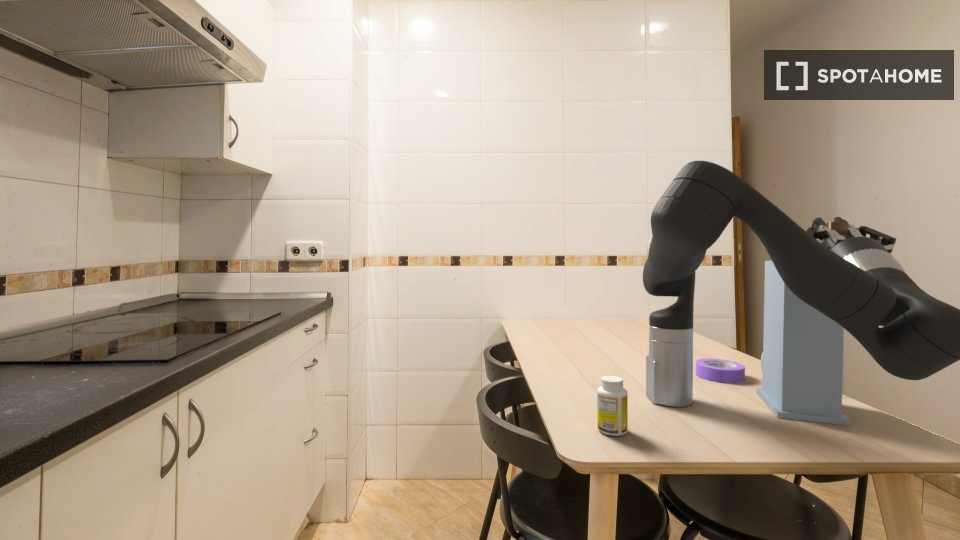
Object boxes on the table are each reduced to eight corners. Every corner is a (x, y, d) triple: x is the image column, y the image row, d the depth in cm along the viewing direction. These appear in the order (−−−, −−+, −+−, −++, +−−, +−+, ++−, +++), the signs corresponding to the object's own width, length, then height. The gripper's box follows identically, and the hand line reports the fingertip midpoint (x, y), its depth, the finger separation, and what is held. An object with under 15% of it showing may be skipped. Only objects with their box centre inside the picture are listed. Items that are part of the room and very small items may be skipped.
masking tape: (754, 384, 110) (754, 369, 110) (708, 384, 110) (709, 369, 110) (729, 371, 122) (729, 358, 121) (688, 371, 122) (688, 358, 122)
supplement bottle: (620, 424, 84) (620, 373, 84) (632, 436, 79) (633, 382, 78) (592, 426, 84) (592, 375, 83) (603, 438, 78) (603, 383, 78)
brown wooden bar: (830, 235, 75) (831, 222, 75) (785, 239, 98) (785, 229, 97) (847, 235, 74) (848, 221, 74) (798, 239, 97) (798, 228, 97)
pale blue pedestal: (777, 417, 87) (780, 254, 86) (756, 393, 102) (758, 254, 101) (849, 425, 83) (854, 254, 82) (816, 398, 98) (820, 253, 97)
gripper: (932, 249, 62) (878, 201, 75) (816, 250, 66) (785, 204, 80) (915, 291, 66) (866, 238, 79) (806, 289, 70) (778, 239, 84)
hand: (826, 221), depth 80 cm, fingers closed on brown wooden bar, 2 cm apart
